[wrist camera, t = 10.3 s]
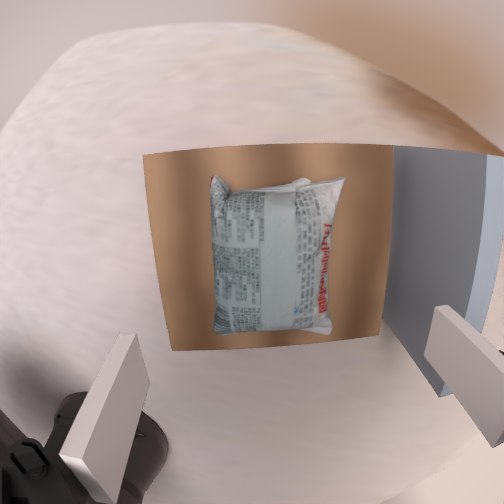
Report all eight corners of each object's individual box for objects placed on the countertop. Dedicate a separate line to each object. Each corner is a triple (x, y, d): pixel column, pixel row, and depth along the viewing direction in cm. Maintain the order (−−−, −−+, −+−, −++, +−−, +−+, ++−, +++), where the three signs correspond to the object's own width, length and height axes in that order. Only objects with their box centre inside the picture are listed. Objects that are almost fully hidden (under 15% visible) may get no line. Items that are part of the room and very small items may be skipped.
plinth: (177, 332, 29) (172, 350, 26) (153, 153, 24) (142, 155, 21) (368, 318, 29) (379, 334, 26) (377, 144, 24) (393, 145, 21)
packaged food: (336, 173, 22) (359, 181, 17) (325, 322, 26) (339, 357, 21) (211, 172, 22) (201, 179, 17) (217, 324, 26) (212, 361, 21)
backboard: (381, 316, 29) (439, 397, 18) (393, 145, 24) (486, 154, 13) (399, 314, 29) (460, 391, 18) (412, 146, 24) (509, 157, 13)
